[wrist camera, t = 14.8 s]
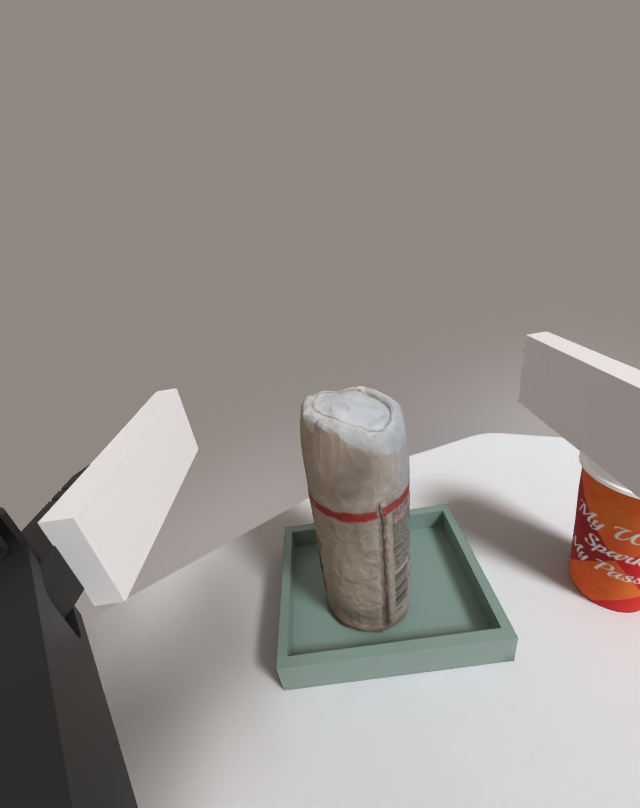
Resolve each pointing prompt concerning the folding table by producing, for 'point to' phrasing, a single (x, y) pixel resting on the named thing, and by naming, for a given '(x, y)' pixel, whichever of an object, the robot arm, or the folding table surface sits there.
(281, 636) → the tray
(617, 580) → the paper cup
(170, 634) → the folding table surface
